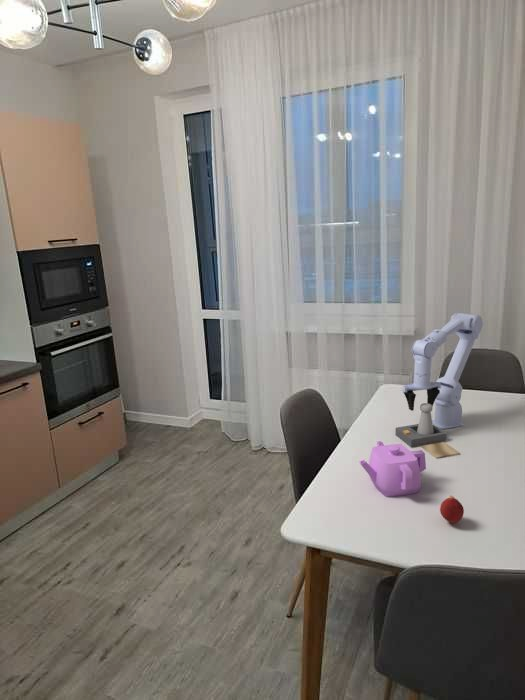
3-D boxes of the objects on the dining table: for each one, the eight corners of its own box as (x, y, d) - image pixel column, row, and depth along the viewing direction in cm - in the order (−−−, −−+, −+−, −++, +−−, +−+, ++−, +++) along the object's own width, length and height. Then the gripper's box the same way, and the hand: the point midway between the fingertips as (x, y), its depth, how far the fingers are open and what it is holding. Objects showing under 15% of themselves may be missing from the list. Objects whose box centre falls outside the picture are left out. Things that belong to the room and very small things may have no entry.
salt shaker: (414, 434, 182) (415, 402, 179) (429, 433, 183) (430, 400, 180) (420, 441, 177) (421, 407, 174) (436, 440, 177) (437, 406, 174)
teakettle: (411, 505, 139) (413, 465, 136) (356, 489, 149) (356, 452, 145) (429, 478, 152) (431, 442, 149) (377, 465, 162) (378, 431, 159)
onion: (463, 518, 132) (465, 492, 130) (462, 531, 127) (463, 503, 125) (440, 514, 134) (441, 488, 132) (438, 526, 129) (439, 499, 127)
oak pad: (444, 443, 175) (444, 441, 174) (459, 454, 166) (460, 452, 166) (421, 447, 173) (421, 445, 172) (436, 458, 164) (436, 457, 164)
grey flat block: (428, 429, 186) (429, 420, 185) (446, 441, 176) (446, 432, 175) (395, 435, 183) (395, 426, 182) (411, 447, 173) (411, 438, 172)
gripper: (434, 368, 182) (431, 402, 185) (398, 371, 178) (397, 407, 182) (445, 373, 175) (442, 409, 178) (408, 377, 172) (406, 413, 175)
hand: (420, 408), depth 180 cm, fingers open, 7 cm apart
